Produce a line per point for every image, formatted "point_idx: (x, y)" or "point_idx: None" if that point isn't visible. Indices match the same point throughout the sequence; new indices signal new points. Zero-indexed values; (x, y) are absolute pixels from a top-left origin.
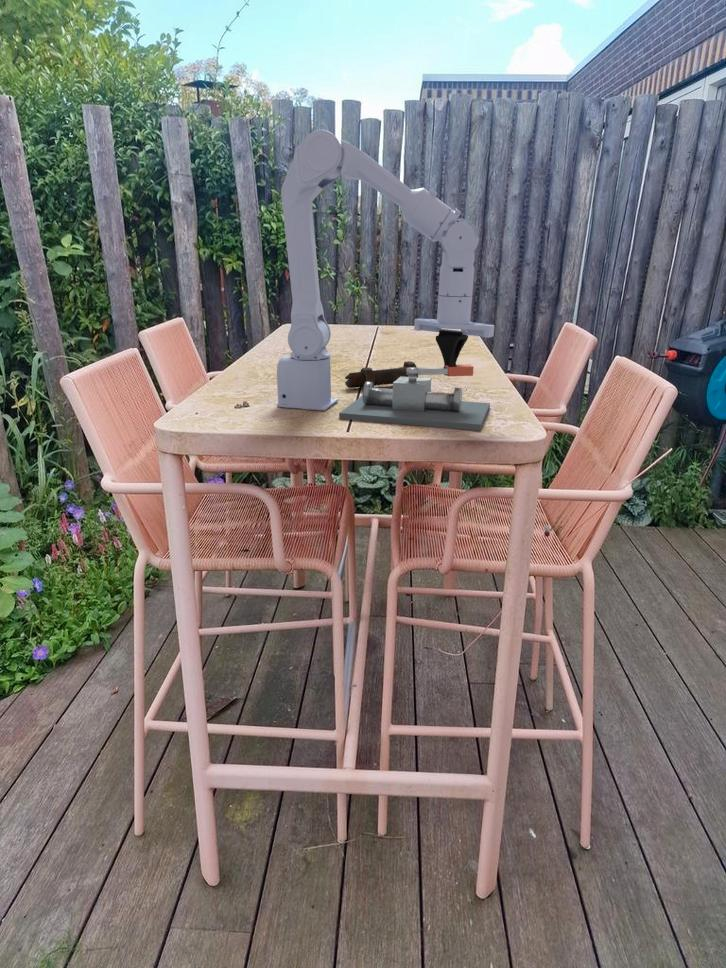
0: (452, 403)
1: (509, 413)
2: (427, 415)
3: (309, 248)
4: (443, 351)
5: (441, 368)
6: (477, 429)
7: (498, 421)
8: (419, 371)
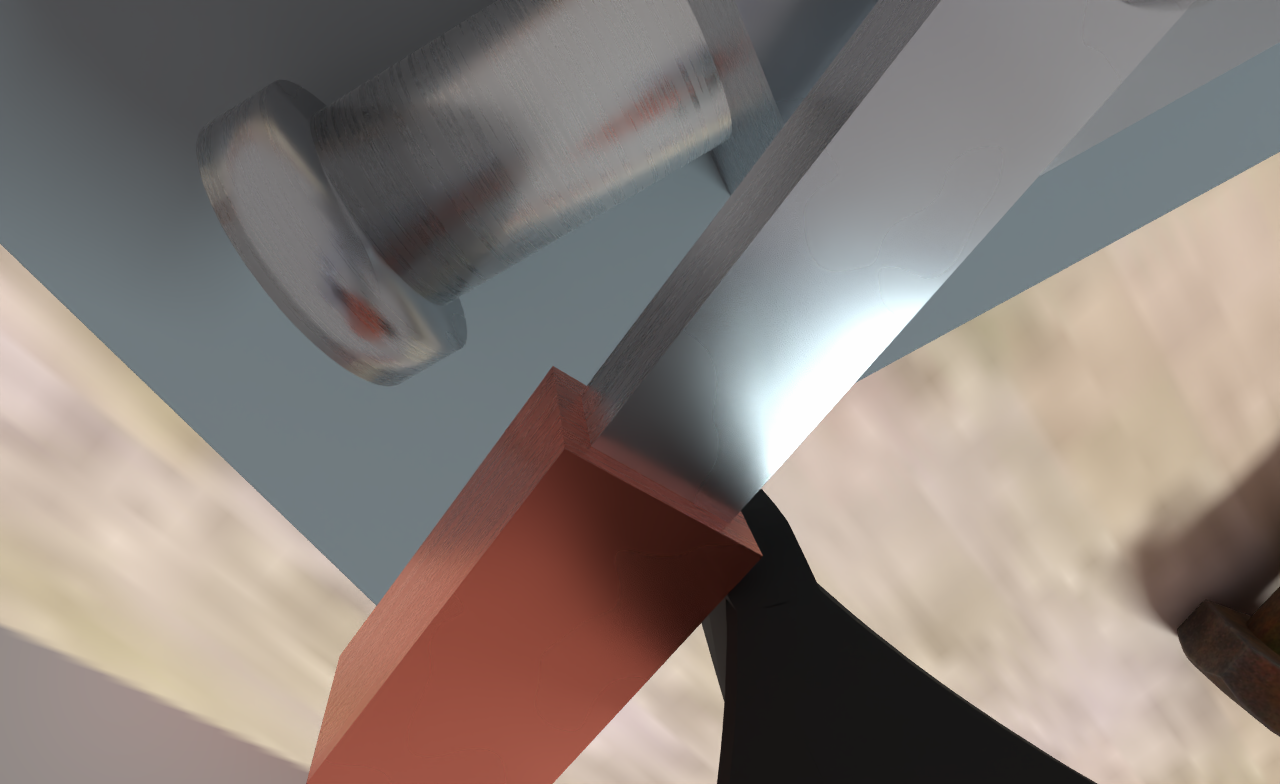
0: (319, 113)
1: (195, 607)
2: None
3: None
4: (957, 763)
5: (698, 356)
6: None
7: (4, 363)
8: None
